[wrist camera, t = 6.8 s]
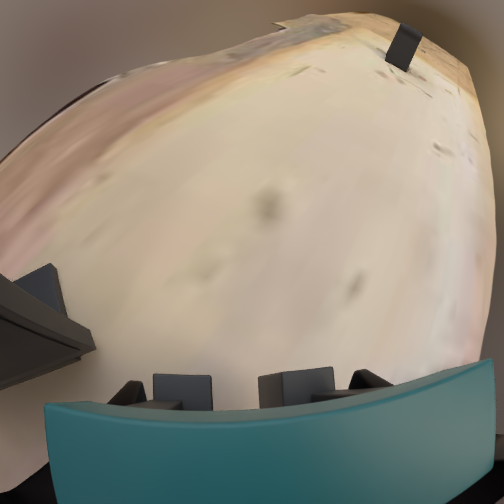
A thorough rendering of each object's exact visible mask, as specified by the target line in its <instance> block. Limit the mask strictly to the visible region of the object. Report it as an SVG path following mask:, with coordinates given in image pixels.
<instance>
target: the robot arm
mask: <svg viewBox="0 0 504 504" xmlns="http://www.w3.org/2000/svg"><path fill="white" fill-rule="evenodd" d="M390 386H394V385H393V384H391V383H389V382H387V381H386V380H384V379H382V378H380V377H379V376H377V375H375V374H374V373H372V372H370V371H368V370H367V369H362V370H357V371H355V372H354V374H353V376H352V379H351V382H350V384H349V388H348V390H350V389H367V388H379V387H390ZM145 401H147V398H146V394H145V390H144V386H143V383H142V382H141V381H132V380H131V381H128V382H127V383H126V384H125V386H124V387H123V388H122V389H121V390H120V391H119V392H118V393H117V394H116V395H115V396H114V397H113V398H112V399H111V400H110V401H109V402H108V403H107V404H110V405H118V406H127V405H131V404H136V403H141V402H145ZM0 504H58V503H57V499H56V494H55V490H54V485H53V480H52V475H51V469H50V463H49V462H48V463H47V464H46V465H44V466H43V467H42V468H41V469H39V470H38V471H37V472H36V473H34V474H33V475H32V476H30V477H29V478H28V479H26V480H25V481H24V482H22V483H21V484H20V485H18V486H17V487H15V488H14V489H12V490H9V491H7V492H3V493H0ZM446 504H504V435H499V434H496V439H495V454H494V464H493V468H492V470H490V471H489V472H488V473H487V474H486V475H484V476H483V477H482V478H481V479H479V480H478V481H477V482H476V483H474V484H473V485H472V486H470V487H469V488H468V489H466V490H465V491H463V492H462V493H461V494H459V495H458V496H456V497H455V498H453V499H452V500H450V501H449V502H447V503H446Z"/></svg>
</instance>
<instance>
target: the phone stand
mask: <svg viewBox="0 0 504 504" xmlns="http://www.w3.org/2000/svg"><path fill="white" fill-rule="evenodd" d="M422 36H423V34H422V33H421V32H419V31H417V30H415V29H413V28H412V27H410V26H408V25H406V24H404V23H403V22H401V24H400V26H399V29H398V31H397V33H396V35H395V37H394V39H393V41H392V43H391V45H390V47H389V49H388V51H387V54H386V58H385V61H387V62H389V63H391V64H393V65H394V66H396V67H398V68H400V69H402V70H403V71H405V72H406V71H407V69H408V67H409V65H410V62H411V60H412V58H413V56H414V54H415V51H416V49H417V47H418V45H419V43H420V41H421V39H422Z"/></svg>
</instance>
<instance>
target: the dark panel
mask: <svg viewBox="0 0 504 504" xmlns="http://www.w3.org/2000/svg"><path fill="white" fill-rule="evenodd" d="M95 349H96V346H95V343H94V341H93V338H92V335H91V332H90V330H89V329H87V328H85V327H84V326H82V325H80V324H78V323H76V322H74V321H73V320H71V319H69V318H68V317H67V313H66V309H65V305H64V301H63V297H62V293H61V288H60V284H59V279H58V274H57V269H56V268H55V267H54V266H53V265H52V264H51V263H49V264H47V265H45V266H43V267H41V268H39V269H37V270H35V271H33V272H31V273H29V274H27V275H25V276H23V277H21V278H20V279H18V280H16V281H14V282H11V281H10V280H8V279H7V278H6V277H4V276H3V275H2V274H0V390H2V389H5V388H8V387H10V386H13V385H16V384H19V383H21V382H24V381H27V380H30V379H32V378H35V377H38V376H40V375H43V374H46V373H48V372H51V371H54V370H56V369H59V368H61V367H64V366H67V365H69V364H72V363H74V362H77V361H79V360H81V359H80V356H81V355H83V354H86V353H88V352H91V351H93V350H95Z"/></svg>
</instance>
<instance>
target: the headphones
mask: <svg viewBox="0 0 504 504" xmlns="http://www.w3.org/2000/svg"><path fill="white" fill-rule="evenodd" d="M258 388H259V404H260V409H251V410H230V411H213V399H212V377H211V376H210V375H178V374H153V400H149V401H145V402H141V403H136V404H131V405H127V406H118V405H110V404H104V403H97V402H91V401H84V402H57V403H46V404H45V406H44V417H45V430H46V441H47V449H48V457H49V463H50V469H51V475H52V480H53V485H54V490H55V494H56V499H57V503H58V504H446V503H447V502H449V501H450V500H452V499H453V498H455V497H456V496H458V495H459V494H461V493H462V492H463V491H465V490H466V489H468V488H469V487H470V486H472V485H473V484H474V483H476V482H477V481H478V480H479V479H481V478H482V477H483V476H484V475H486V474H487V473H488V472H489V471H490V470H492V468H493V464H494V454H495V439H496V393H495V379H494V367H493V360H492V359H486V360H482V361H478V362H475V363H471V364H467V365H463V366H459V367H455V368H451V369H446V370H442V371H440V372H437V373H434V374H431V375H428V376H425V377H422V378H419V379H416V380H412V381H409V382H406V383H402V384H399V385H395V386H390V387H379V388H367V389H350V390H335V382H334V371H333V367H324V368H315V369H307V370H297V371H286V372H280V373H275V374H270V375H264V376H259V377H258Z"/></svg>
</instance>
